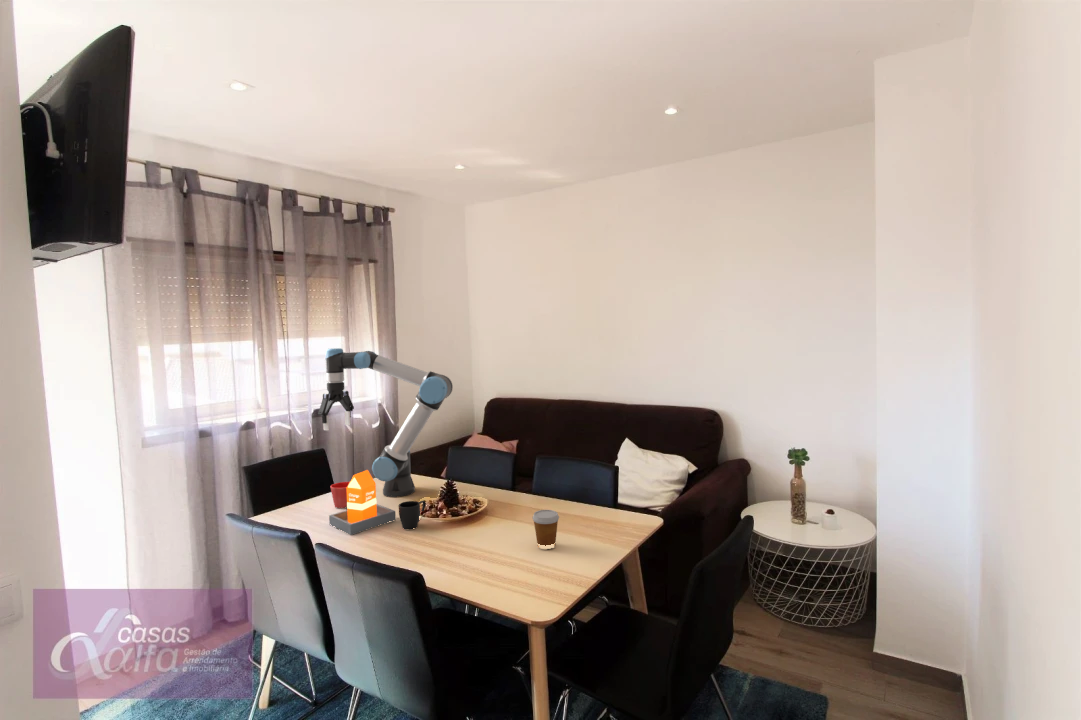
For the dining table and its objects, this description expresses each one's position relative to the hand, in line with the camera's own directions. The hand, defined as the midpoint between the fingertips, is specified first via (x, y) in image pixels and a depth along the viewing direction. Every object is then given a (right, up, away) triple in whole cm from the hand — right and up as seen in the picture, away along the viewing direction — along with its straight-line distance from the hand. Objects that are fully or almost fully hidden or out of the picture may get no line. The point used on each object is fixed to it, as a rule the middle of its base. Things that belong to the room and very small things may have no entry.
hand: (337, 427), depth 242 cm
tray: (+21, -36, -27) cm, 49 cm away
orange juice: (+21, -35, -27) cm, 49 cm away
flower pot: (+5, -35, -4) cm, 36 cm away
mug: (+43, -36, -32) cm, 64 cm away
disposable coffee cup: (+96, -36, -55) cm, 116 cm away
